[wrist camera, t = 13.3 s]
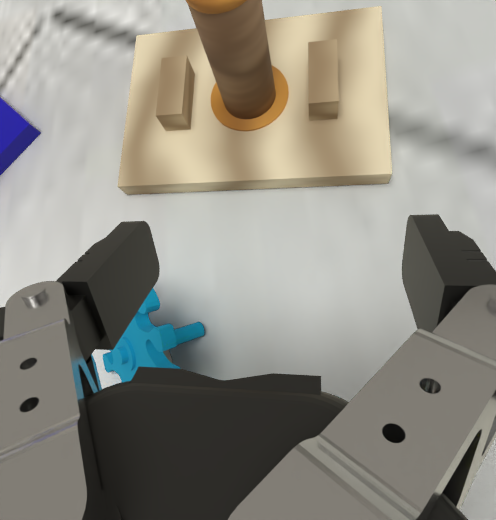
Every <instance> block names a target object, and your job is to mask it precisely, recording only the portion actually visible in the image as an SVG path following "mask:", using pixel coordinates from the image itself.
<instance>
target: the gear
mask: <svg viewBox="0 0 496 520" xmlns="http://www.w3.org/2000/svg"><path fill="white" fill-rule="evenodd" d="M159 307H160V302H159V299H158V296H157V294H156V292H155V290H154V289H153V288H152V290H151V291H150V293H149V294H148V296H147V298H146V299H145V301H144V302H143V304H142V305H141V307H140V308H139V310H138V312H137V313H136V315H135V316H134V318H133V319H132V321H131V323H130V324H129V326H128V327H127V329H126V330H125V332H124V333H123V335H122V337H121V338H120V340H119V341H118V343H117V344H116V346H115V348H114V349H113V350H110V351H111V352H109V353H106V354H103V361H104V366H105V370H106V371H107V372H111V371H115V372H116V373H118V374H119V376H120V378H121V381H122V382H126V381H131V380H132V378H133V376H134V374H135V373H136V371H137V369H138V367H139V366H140V367H158V368H177V369H181V368H180V367H179V366H176V365H174V364H173V361H172V358H171V355H170V352H169V349H171V348H174V347H176V345H178V344H181V343H184V342H187V341H190V340H193V339H195V338H198V337H201V336H203V335H204V327H203V325H202V323H200V322H196V323H193V324H190V325H187V326H184V327H181V328H178V329H175V330H174V328H173V326H172V325H171V324H165V325H162V326H158V327H156V326H154V325H153V324H152V323H151V322H150V320H149V317H148V312H152V311H156V310H158V309H159Z"/></svg>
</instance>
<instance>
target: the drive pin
mask: <svg viewBox="0 0 496 520" xmlns="http://www.w3.org/2000/svg"><path fill="white" fill-rule="evenodd" d="M186 2H187V3H188V6H189V9H190V11H191V14H192V17H193V20H194V22H195V25H196V28H197V31H198V33H199V36H200V39H201V42H202V44H203V47H204V50H205V53H206V55H207V58H208V61H209V64H210V66H211V69H212V72H213V75H214V77H215V80H216V83H217V86H218V89H219V91H220V94H221V97H222V100H223V102H224V105H225V108H226V109H227V111H228V112H229V113H230V114H231V115H233V116H234V117H236V118H239V119H253V118H257V117H259V116H261V115H263V114H264V113H266V112H267V111H268V110H269V109H270V108H271V106H272V105H273V103H274V100H275V96H276V91H275V84H274V78H273V71H272V65H271V58H270V52H269V45H268V39H267V32H266V25H265V19H264V12H263V6H262V0H186Z"/></svg>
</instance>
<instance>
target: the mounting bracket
mask: <svg viewBox="0 0 496 520" xmlns="http://www.w3.org/2000/svg"><path fill="white" fill-rule="evenodd" d="M40 134H41V132H39V131H38V130H37V129H36V128H35V127H34V126H33V125H32V124H30V123H29V122H28V121H27V120H26V119H25V118H24V117H23V116H21V115H20V114H19V113H18V112H17V111H16V110H15V109H14V108H12V107H11V106H10V105H9V104H8V103H7V102H6V101H5V100H3V99H2V98H1V97H0V175H1V174H2V173H3V172H4V171H5V170H6V169H7V168H8V167H9V166H10V165H11V164H12V163H13V162H14V161H15V160H16V159H17V157H18V156H19V155H20V154H21V153H22V152H23V151H24V150H25V149H26V148H27V147H28V146H29V145H30V144H31V143H32V142H33V141H34V140H35V139H36V138H37V137H38V136H39V135H40Z"/></svg>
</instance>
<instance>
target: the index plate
mask: <svg viewBox="0 0 496 520" xmlns="http://www.w3.org/2000/svg"><path fill="white" fill-rule="evenodd" d="M265 25H266V32H267V39H268V45H269V52H270V58H271V65H272V71H273V78H274V84H275V91H276V96H275V100H274V103H273V105H272V106H271V108H270V109H269V110H268V111H267V112H266V113H264V114H263V115H261V116H259V117H257V118H253V119H239V118H236V117H234V116H233V115H231V114H230V113H229V112H228V111H227V109H226V108H225V105H224V102H223V100H222V97H221V94H220V91H219V89H218V86H217V83H216V80H215V77H214V75H213V72H212V69H211V66H210V64H209V61H208V58H207V55H206V53H205V50H204V47H203V44H202V42H201V39H200V36H199V33H198V31H197V28H196V29H187V30H179V31H171V32H162V33H154V34H146V35H137V37H136V45H135V53H134V61H133V69H132V77H131V85H130V93H129V100H128V108H127V116H126V124H125V132H124V140H123V148H122V156H121V164H120V171H119V179H118V187H119V188H120V189H121V190H122V191H123V192H124V193H126V194H127V195H130V194H153V193H176V192H200V191H223V190H246V189H269V188H293V187H316V186H339V185H363V184H386V183H388V182H389V180H390V178H391V175H392V165H391V149H390V133H389V118H388V102H387V87H386V71H385V55H384V40H383V24H382V9H381V6H378V7H370V8H361V9H353V10H345V11H337V12H328V13H320V14H312V15H303V16H295V17H287V18H279V19H270V20H265Z"/></svg>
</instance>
